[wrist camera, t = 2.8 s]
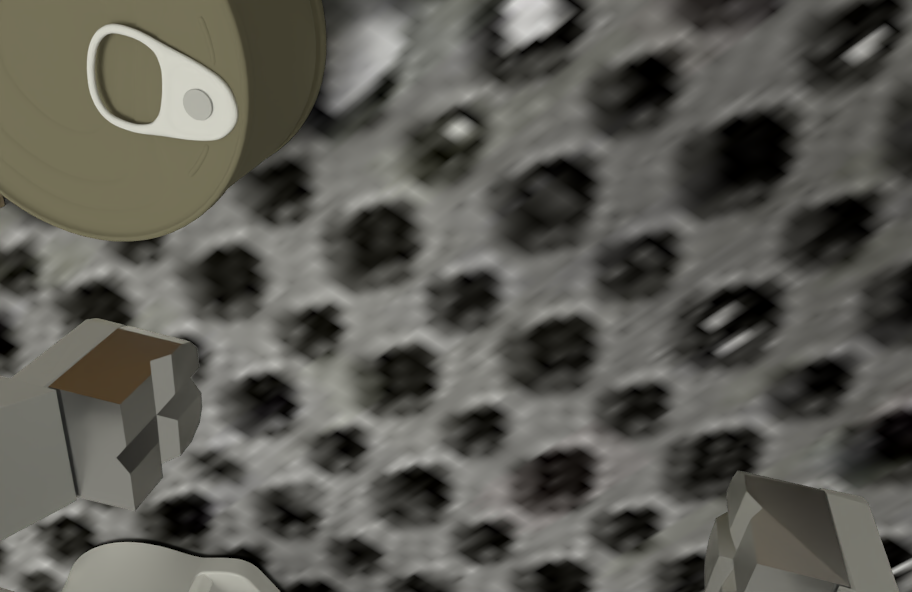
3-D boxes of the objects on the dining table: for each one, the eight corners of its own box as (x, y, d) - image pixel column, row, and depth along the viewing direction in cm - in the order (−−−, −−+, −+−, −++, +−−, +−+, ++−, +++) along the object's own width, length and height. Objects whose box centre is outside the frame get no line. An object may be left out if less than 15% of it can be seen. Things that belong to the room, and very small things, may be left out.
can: (30, -206, 26) (-149, -228, 20) (358, -107, 25) (269, -99, 20) (45, 123, 32) (-90, 178, 27) (308, 211, 32) (229, 288, 26)
